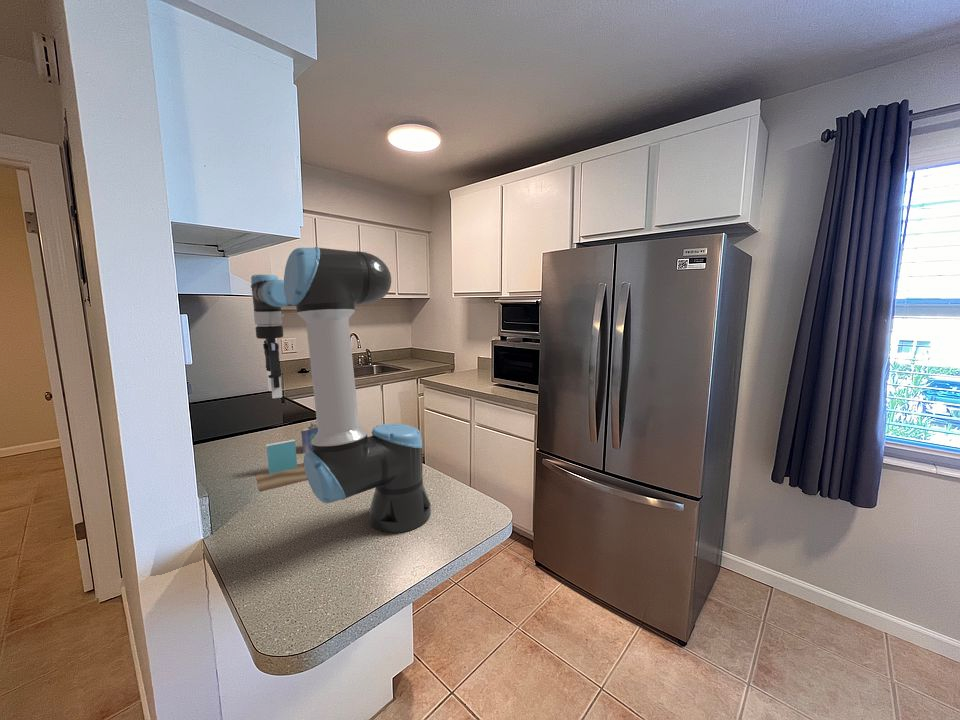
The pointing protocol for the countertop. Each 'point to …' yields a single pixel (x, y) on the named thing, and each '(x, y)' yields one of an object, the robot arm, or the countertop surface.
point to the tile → (281, 456)
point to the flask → (308, 437)
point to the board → (280, 478)
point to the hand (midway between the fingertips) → (275, 393)
